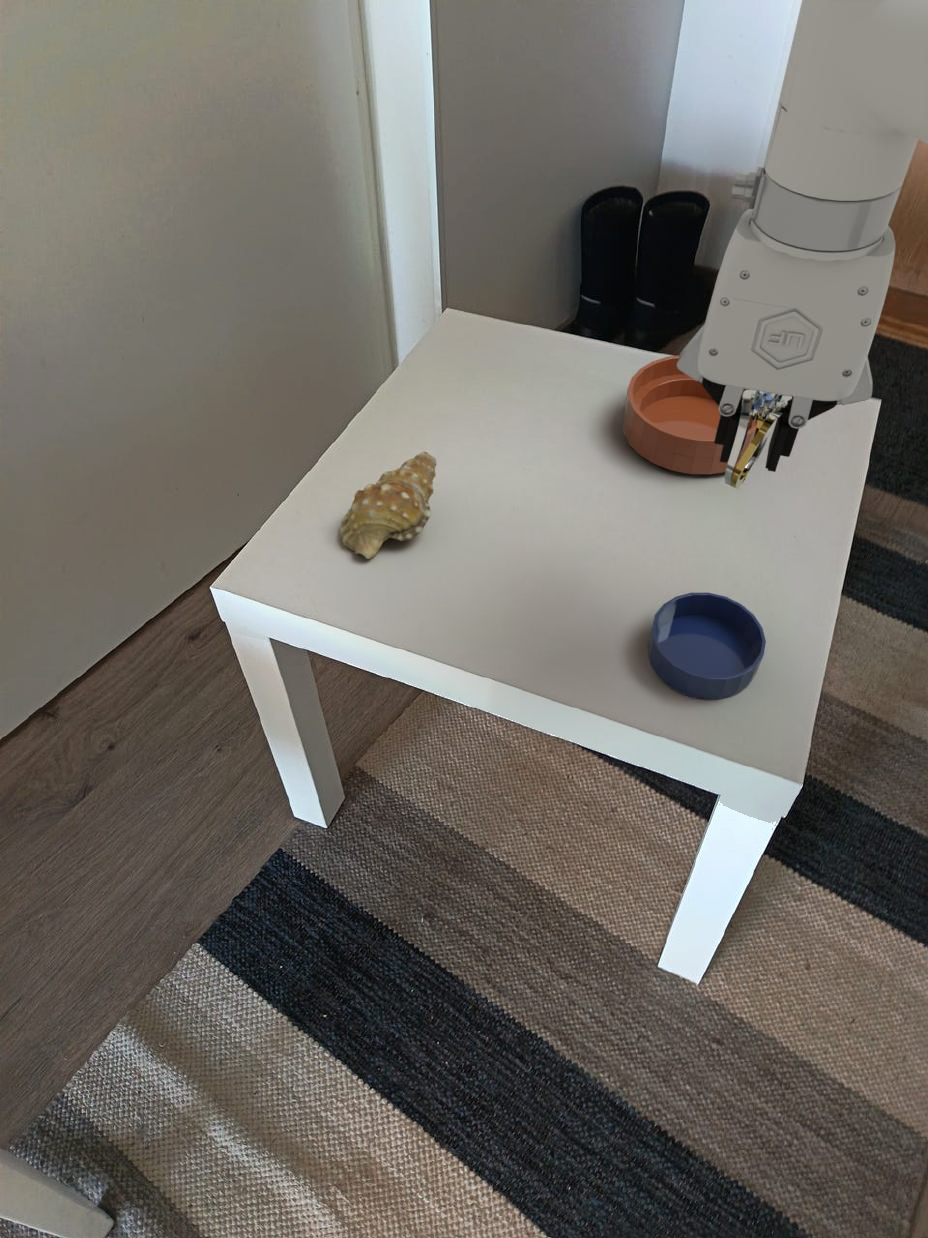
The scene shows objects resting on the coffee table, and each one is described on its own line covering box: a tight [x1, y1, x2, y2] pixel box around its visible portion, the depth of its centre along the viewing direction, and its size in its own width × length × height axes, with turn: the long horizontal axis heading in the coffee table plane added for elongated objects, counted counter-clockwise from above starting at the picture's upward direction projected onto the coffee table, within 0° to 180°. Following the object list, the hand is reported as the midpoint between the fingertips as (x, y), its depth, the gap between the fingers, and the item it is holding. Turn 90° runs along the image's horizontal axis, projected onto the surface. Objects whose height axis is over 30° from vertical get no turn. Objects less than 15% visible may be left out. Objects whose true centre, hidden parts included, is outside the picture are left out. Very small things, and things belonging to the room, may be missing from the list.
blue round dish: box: [647, 592, 767, 701], centre depth 74 cm, size 9×9×3 cm
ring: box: [724, 390, 788, 489], centre depth 62 cm, size 7×3×8 cm, turn 144°
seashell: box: [339, 451, 437, 560], centre depth 85 cm, size 9×8×10 cm
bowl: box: [622, 354, 773, 475], centre depth 93 cm, size 15×15×5 cm
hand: (749, 453), depth 63 cm, fingers closed on ring, 2 cm apart
